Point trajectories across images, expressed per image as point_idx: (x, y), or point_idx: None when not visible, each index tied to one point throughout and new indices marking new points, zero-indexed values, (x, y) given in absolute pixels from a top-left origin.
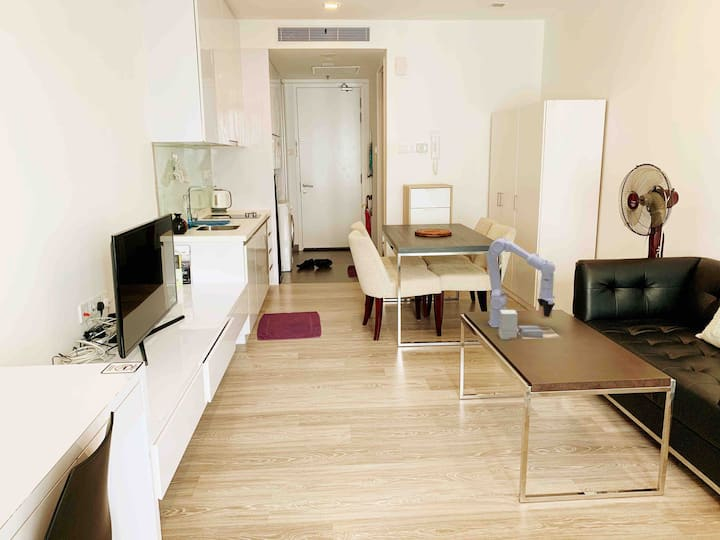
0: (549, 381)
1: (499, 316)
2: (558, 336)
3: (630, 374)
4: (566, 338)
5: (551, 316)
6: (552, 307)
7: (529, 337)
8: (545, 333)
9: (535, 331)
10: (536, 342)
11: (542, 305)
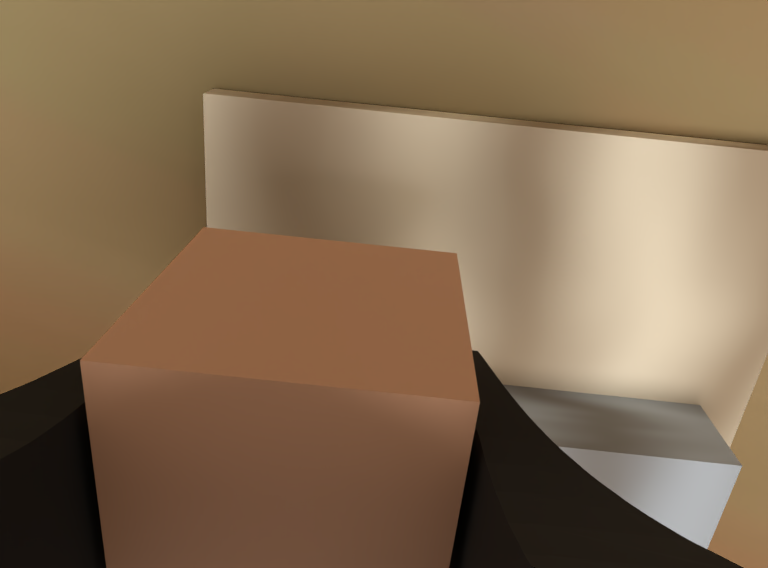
0: None
1: None
2: (735, 172)
3: None
4: (755, 21)
5: (456, 281)
6: (634, 512)
7: None
8: (539, 299)
9: None
10: (764, 489)
11: (94, 545)
